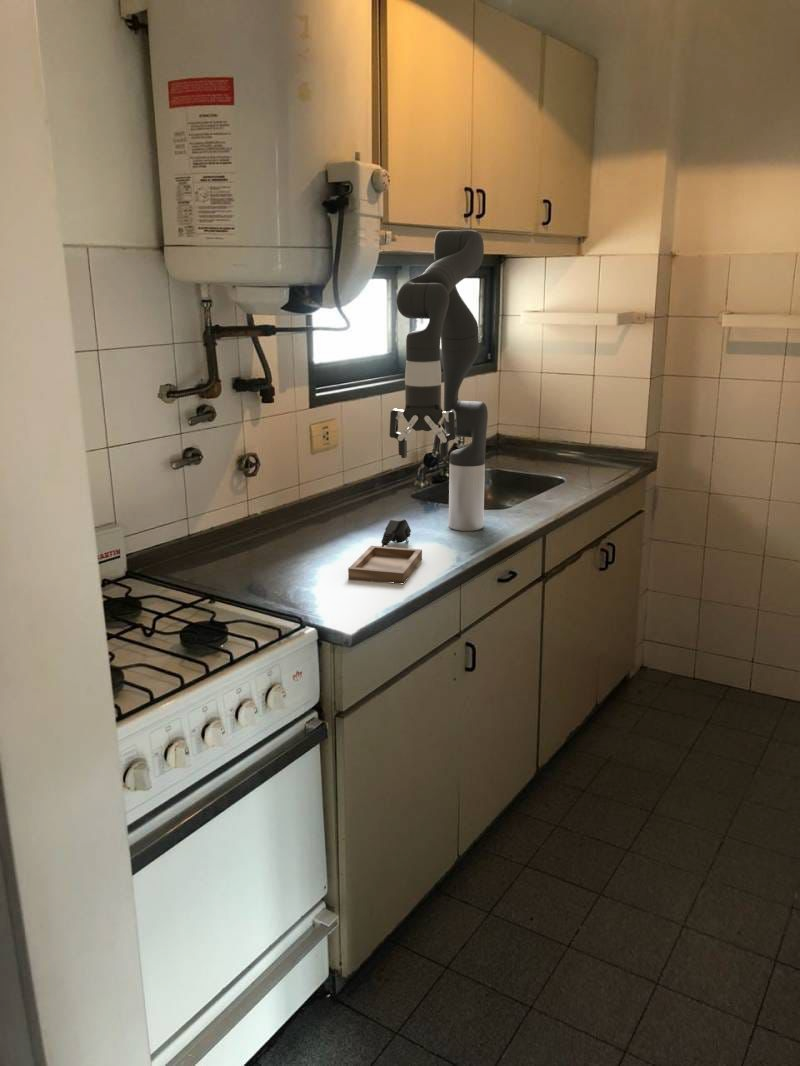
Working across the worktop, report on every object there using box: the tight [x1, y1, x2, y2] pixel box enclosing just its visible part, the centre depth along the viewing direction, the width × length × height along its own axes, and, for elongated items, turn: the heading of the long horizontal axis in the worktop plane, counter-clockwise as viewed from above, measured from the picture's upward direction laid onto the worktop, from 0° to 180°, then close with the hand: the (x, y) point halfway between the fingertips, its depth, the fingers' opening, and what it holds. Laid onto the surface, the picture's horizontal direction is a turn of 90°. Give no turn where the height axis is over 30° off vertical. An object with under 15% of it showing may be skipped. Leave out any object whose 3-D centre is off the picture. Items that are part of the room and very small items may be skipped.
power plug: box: [380, 518, 412, 547], centre depth 209 cm, size 6×8×12 cm
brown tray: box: [347, 545, 423, 584], centre depth 192 cm, size 17×12×2 cm
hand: (423, 458), depth 182 cm, fingers open, 8 cm apart
